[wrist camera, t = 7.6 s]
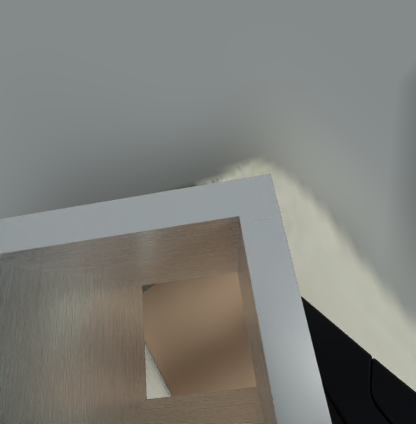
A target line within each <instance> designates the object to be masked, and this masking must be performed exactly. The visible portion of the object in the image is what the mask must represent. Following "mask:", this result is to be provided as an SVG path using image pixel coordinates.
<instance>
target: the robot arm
mask: <svg viewBox="0 0 416 424" xmlns="http://www.w3.org/2000/svg"><path fill="white" fill-rule="evenodd" d="M301 299H302V303H303V308H304V312H305V316H306V320H307V324H308V328H309V332H310V336H311V340H312V344H313V348H314V353H315V357H316V361H317V365H318V369H319V373H320V377H321V381H322V385H323V389H324V394H325V398H326V402H327V406H328V410H329V414H330V418H331V422H332V424H416V392H415V391H414V390H412V389H411V388H410V387H409V386H408V385H406V384H405V383H404V382H403V381H401V380H400V379H399V378H398V377H396V376H395V375H394V374H393V373H392V372H390V371H389V370H388V369H387V368H386V367H384V366H383V365H382V364H381V363H380V362H379V361H377V360H376V359H375V358H373V359H372V356H371V355H370V354H369V353H368V352H367V351H365V350H364V349H363V348H362V347H361V346H359V345H358V344H357V343H356V342H355V341H354V340H352V339H351V338H350V337H349V336H348V335H346V334H345V333H344V332H343V331H342V330H341V329H339V328H338V327H337V326H336V325H335V324H334V323H332V322H331V321H330V320H329V319H328V318H326V317H325V316H324V315H323V314H322V313H321V312H319V311H318V310H317V309H316V308H315V307H313V306H312V305H311V304H310V303H309V302H308V301H306V300H305V299H304V298H303V297H302V296H301Z"/></svg>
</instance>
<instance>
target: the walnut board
mask: <svg viewBox="0 0 416 424" xmlns="http://www.w3.org/2000/svg"><path fill="white" fill-rule="evenodd" d="M143 317H144V340H145V342H146V344H147V346H148V348H149V350H150V352H151V354H152V356H153V359H154V361H155V363H156V365H157V367H158V369H159V371H160V373H161V375H162V377H163V379H164V381H165V383H166V385H167V387H168V389H169V391H170V393H171V395H172V396H181V395H189V394H198V393H206V392H215V391H223V390H232V389H240V388H248V387H257V386H256V380H255V374H254V368H253V362H252V356H251V350H250V344H249V338H248V332H247V326H246V320H245V314H244V308H243V302H242V296H241V290H240V284H239V278H238V272H234V273H227V274H220V275H213V276H206V277H199V278H192V279H185V280H178V281H172V282H165V283H158V284H154V285H153V286H151V287H150V288H148V289H147V290H146V291H144V292H143Z"/></svg>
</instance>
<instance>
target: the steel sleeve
mask: <svg viewBox="0 0 416 424" xmlns="http://www.w3.org/2000/svg"><path fill="white" fill-rule="evenodd" d="M234 272H238V278H239V284H240V290H241V296H242V302H243V308H244V314H245V320H246V326H247V332H248V338H249V344H250V350H251V356H252V362H253V368H254V374H255V380H256V386H257V387H248V388H240V389H232V390H223V391H215V392H206V393H198V394H189V395H181V396H172V397H164V398H155V399H147V396H146V369H145V343H144V317H143V291H142V286H144V285H151V284H158V283H165V282H172V281H178V280H185V279H192V278H199V277H206V276H213V275H220V274H227V273H234ZM0 424H332V422H331V418H330V414H329V410H328V406H327V402H326V398H325V394H324V389H323V385H322V381H321V377H320V373H319V369H318V365H317V361H316V357H315V353H314V348H313V344H312V340H311V336H310V332H309V328H308V324H307V320H306V316H305V312H304V308H303V303H302V299H301V295H300V291H299V287H298V283H297V279H296V275H295V271H294V267H293V263H292V258H291V254H290V250H289V246H288V242H287V238H286V234H285V230H284V226H283V222H282V217H281V213H280V209H279V205H278V201H277V197H276V193H275V189H274V185H273V181H272V177H271V174H267V175H261V176H255V177H249V178H243V179H237V180H231V181H225V182H219V183H213V184H207V185H201V186H195V187H189V188H183V189H177V190H171V191H165V192H159V193H153V194H147V195H141V196H135V197H129V198H124V199H117V200H111V201H105V202H99V203H93V204H87V205H81V206H75V207H69V208H63V209H58V210H51V211H45V212H39V213H33V214H27V215H21V216H15V217H9V218H3V219H0Z"/></svg>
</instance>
